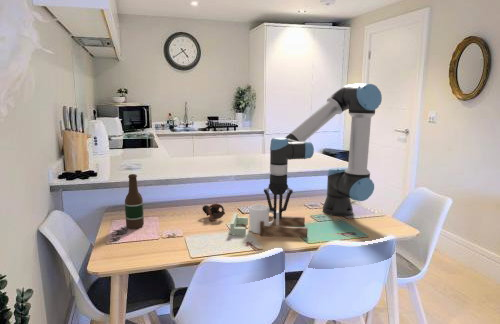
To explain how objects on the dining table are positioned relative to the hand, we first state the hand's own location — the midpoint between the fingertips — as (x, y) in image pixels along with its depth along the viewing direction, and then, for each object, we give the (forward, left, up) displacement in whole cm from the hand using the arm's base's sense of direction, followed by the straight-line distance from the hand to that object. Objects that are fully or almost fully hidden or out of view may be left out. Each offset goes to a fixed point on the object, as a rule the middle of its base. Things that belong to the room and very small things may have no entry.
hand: (277, 225), depth 159 cm
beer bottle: (+64, +1, -2) cm, 64 cm away
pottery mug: (+31, -14, -3) cm, 34 cm away
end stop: (+17, 0, -2) cm, 17 cm away
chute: (-3, 0, -2) cm, 3 cm away
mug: (+7, 0, -2) cm, 7 cm away
